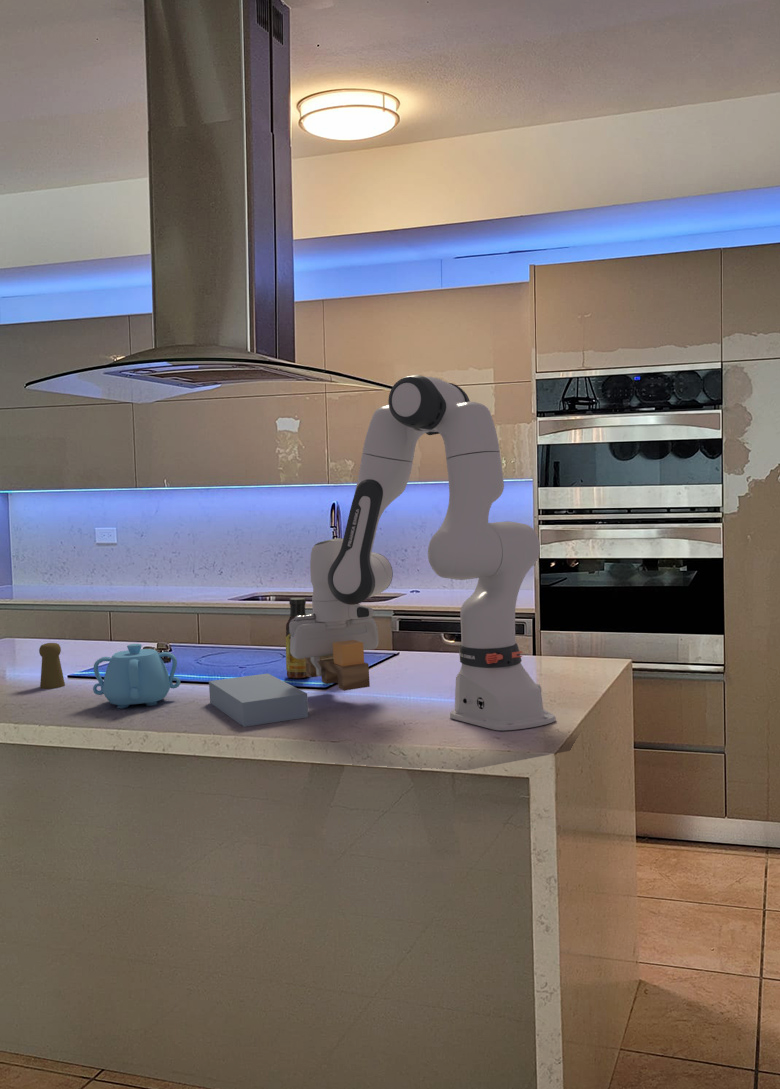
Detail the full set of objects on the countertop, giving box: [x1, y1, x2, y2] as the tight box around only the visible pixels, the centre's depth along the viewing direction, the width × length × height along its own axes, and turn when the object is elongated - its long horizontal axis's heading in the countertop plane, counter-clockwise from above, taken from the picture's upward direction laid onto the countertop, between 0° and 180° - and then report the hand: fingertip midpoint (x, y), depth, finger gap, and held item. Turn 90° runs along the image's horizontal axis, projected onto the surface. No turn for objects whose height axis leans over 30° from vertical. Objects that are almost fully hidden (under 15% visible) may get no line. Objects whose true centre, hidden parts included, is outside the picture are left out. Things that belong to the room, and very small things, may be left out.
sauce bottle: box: [285, 597, 310, 679], centre depth 254 cm, size 6×6×20 cm
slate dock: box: [208, 673, 309, 728], centre depth 221 cm, size 26×14×5 cm, turn 25°
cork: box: [38, 642, 66, 690], centre depth 257 cm, size 6×6×11 cm
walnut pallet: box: [305, 655, 371, 691], centre depth 226 cm, size 22×6×5 cm, turn 26°
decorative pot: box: [92, 643, 181, 709], centre depth 234 cm, size 16×16×14 cm
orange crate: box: [333, 640, 365, 666], centre depth 219 cm, size 5×5×4 cm
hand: (336, 673), depth 226 cm, fingers closed on walnut pallet, 6 cm apart
